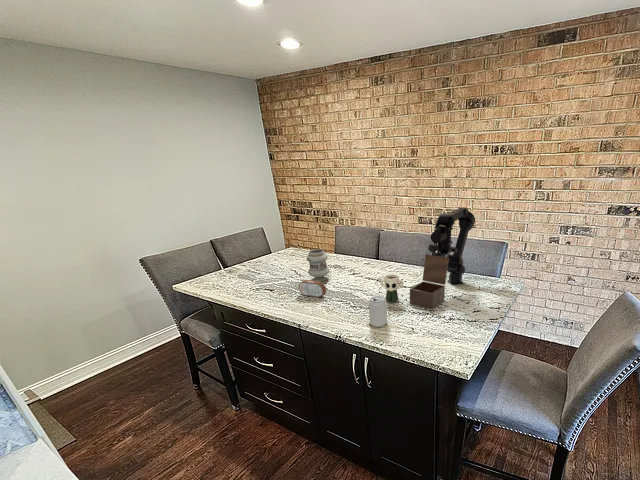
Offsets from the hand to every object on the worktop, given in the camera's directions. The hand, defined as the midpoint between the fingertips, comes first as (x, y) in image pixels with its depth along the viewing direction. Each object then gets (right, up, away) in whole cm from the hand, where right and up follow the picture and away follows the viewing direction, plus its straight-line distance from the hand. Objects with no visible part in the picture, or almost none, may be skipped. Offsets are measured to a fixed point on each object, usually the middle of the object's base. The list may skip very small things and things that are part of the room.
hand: (444, 268), depth 177 cm
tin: (-69, -14, 0) cm, 71 cm away
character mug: (-27, -17, -8) cm, 33 cm away
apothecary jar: (-71, -5, +23) cm, 75 cm away
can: (-33, -27, -31) cm, 52 cm away
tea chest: (-10, -17, -10) cm, 22 cm away
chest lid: (-6, -1, -10) cm, 12 cm away
